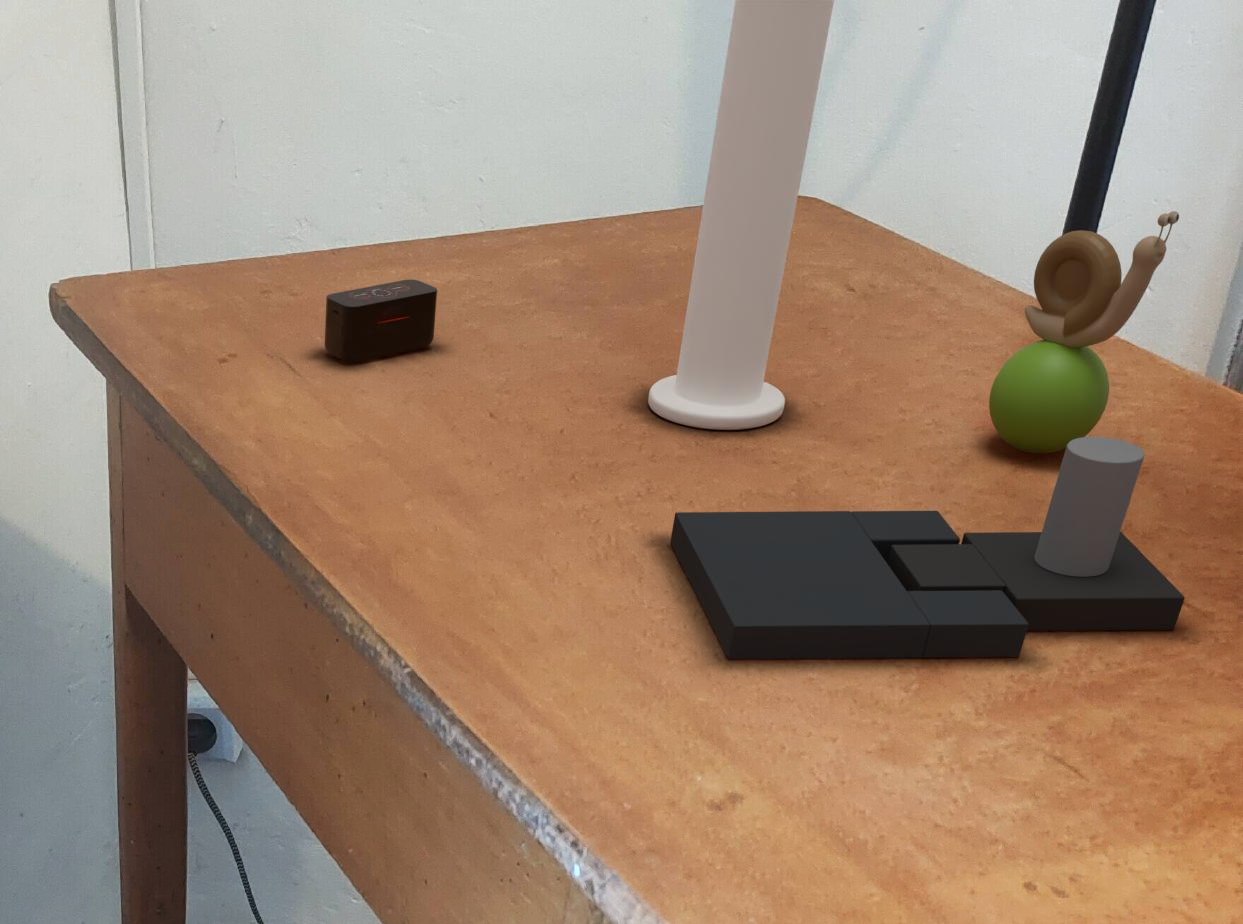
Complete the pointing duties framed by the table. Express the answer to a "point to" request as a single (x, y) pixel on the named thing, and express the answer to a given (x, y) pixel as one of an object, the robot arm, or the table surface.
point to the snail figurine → (1070, 339)
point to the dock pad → (833, 587)
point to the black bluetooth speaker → (380, 320)
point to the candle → (747, 217)
